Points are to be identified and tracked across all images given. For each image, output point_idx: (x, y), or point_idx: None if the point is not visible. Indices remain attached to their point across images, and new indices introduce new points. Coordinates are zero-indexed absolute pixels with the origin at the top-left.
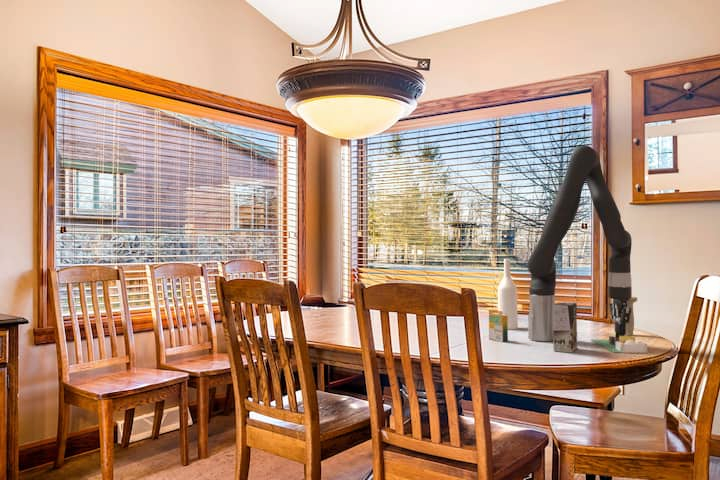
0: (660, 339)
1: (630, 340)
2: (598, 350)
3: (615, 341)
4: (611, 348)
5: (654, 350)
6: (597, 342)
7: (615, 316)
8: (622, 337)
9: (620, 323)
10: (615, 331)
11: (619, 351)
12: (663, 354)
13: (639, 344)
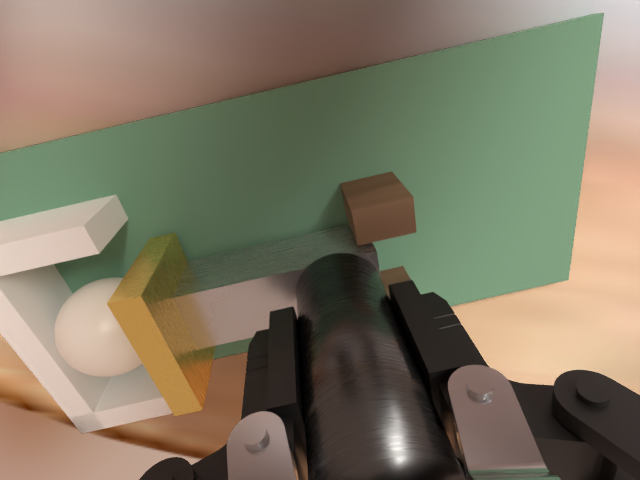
0: None
1: (67, 357)
2: (20, 11)
3: None
4: (129, 160)
5: (230, 412)
6: (430, 61)
7: (467, 476)
8: (122, 313)
9: (240, 431)
10: (353, 288)
11: (4, 212)
12: (114, 438)
13: (48, 389)
